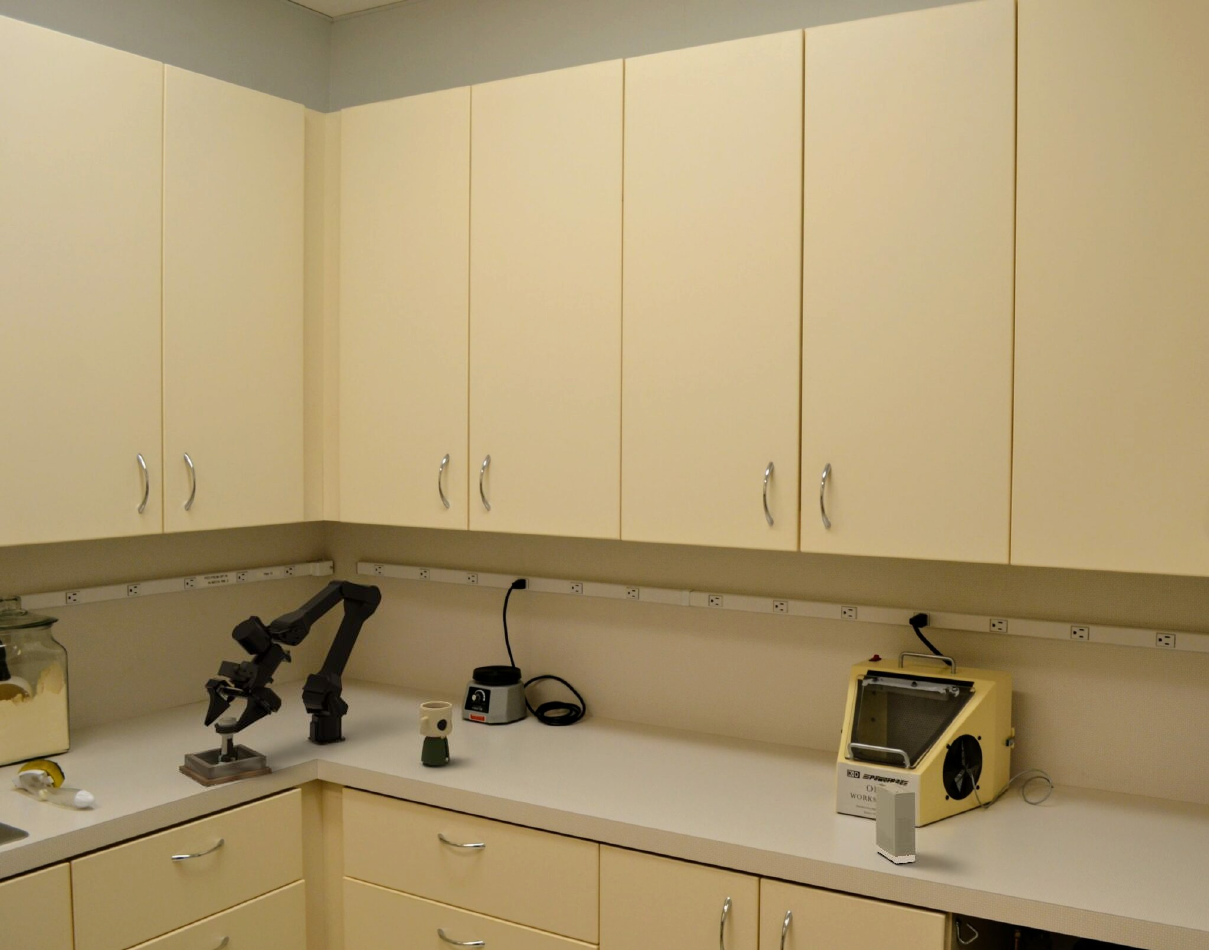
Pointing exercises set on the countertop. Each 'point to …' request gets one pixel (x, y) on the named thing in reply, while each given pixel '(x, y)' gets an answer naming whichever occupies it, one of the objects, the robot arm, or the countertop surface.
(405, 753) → the countertop surface
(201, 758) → the tray
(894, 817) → the skincare box
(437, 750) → the character mug
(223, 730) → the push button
